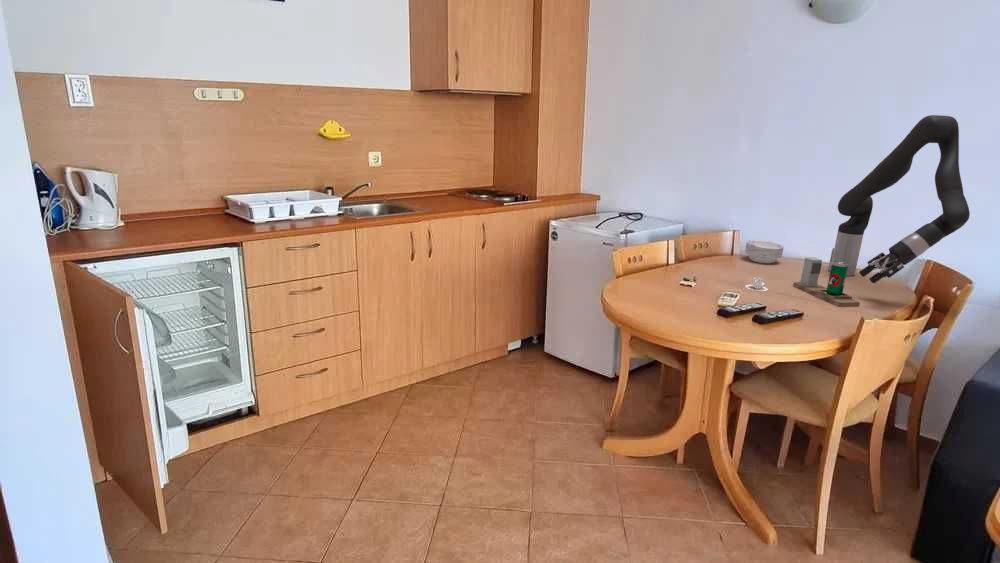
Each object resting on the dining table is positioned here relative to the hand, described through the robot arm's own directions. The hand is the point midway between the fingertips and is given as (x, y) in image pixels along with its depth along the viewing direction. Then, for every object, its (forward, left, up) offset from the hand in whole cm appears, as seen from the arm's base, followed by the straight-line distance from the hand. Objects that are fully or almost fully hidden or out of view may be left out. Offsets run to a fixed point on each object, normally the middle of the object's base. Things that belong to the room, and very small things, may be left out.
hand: (865, 277), depth 209 cm
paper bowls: (-56, -1, -9) cm, 57 cm away
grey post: (-16, -9, -7) cm, 19 cm away
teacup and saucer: (-17, -26, -9) cm, 33 cm away
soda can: (-3, -9, -7) cm, 12 cm away
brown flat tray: (-7, -9, -9) cm, 14 cm away
